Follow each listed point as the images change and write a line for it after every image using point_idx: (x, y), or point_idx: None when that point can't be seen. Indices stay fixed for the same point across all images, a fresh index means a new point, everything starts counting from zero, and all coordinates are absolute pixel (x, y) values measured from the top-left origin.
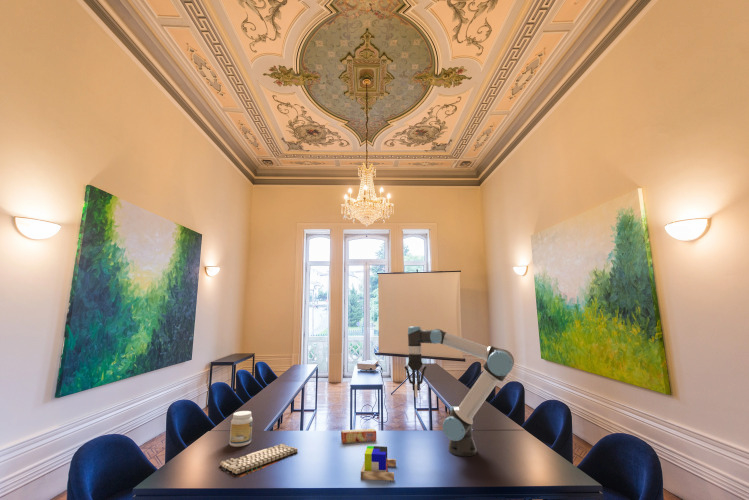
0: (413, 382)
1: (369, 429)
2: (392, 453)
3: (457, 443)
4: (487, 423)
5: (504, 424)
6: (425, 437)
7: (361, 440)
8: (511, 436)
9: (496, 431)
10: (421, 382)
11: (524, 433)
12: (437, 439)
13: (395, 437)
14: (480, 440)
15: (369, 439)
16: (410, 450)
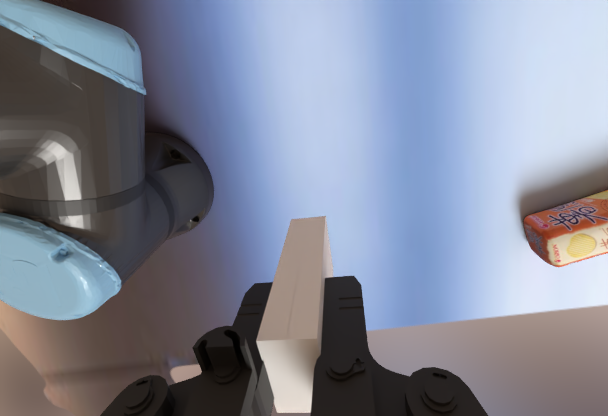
0: (343, 393)
1: (585, 246)
2: (442, 94)
3: (149, 154)
4: None
5: (92, 409)
6: None
7: (604, 191)
8: (51, 330)
9: (100, 360)
10: (131, 396)
11: (25, 355)
12: (268, 274)
13: (433, 269)
14: (128, 287)
15: (561, 206)
16: (362, 147)
